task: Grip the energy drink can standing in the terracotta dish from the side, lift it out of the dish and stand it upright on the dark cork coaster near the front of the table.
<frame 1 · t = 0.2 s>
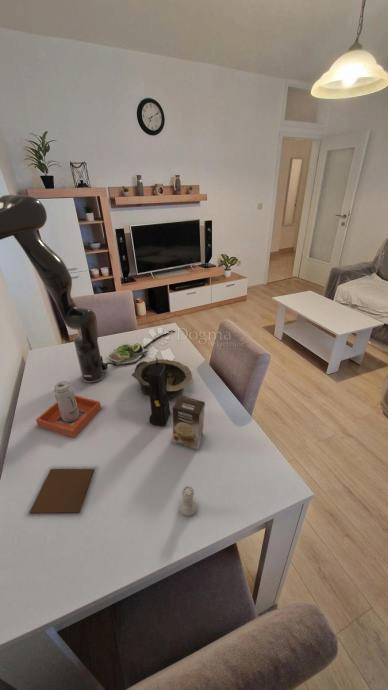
energy drink can: (71, 417, 103), resting in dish
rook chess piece: (187, 508, 75), on the table
coffee box: (188, 440, 95), on the table
coaster: (64, 489, 78), on the table
salad plate: (128, 355, 142), on the table
stone bowl: (164, 386, 120), on the table
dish: (71, 417, 103), on the table
portable radio: (160, 420, 103), on the table
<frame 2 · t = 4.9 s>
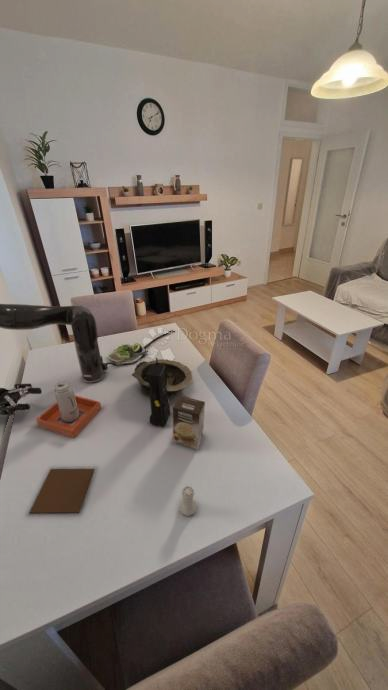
hand: (35, 398, 99), 9 cm above the table, tool horizontal, fingers open, 8 cm apart
nothing on the table moved.
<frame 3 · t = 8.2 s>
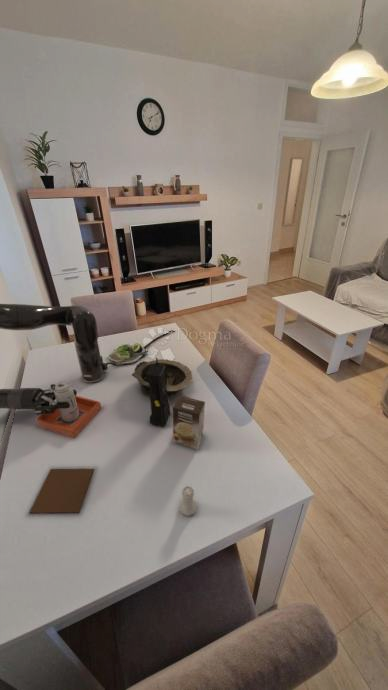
hand: (72, 398, 99), 9 cm above the table, tool horizontal, fingers closed on energy drink can, 6 cm apart
energy drink can: (71, 417, 103), resting in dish, touching gripper
everything else where it was.
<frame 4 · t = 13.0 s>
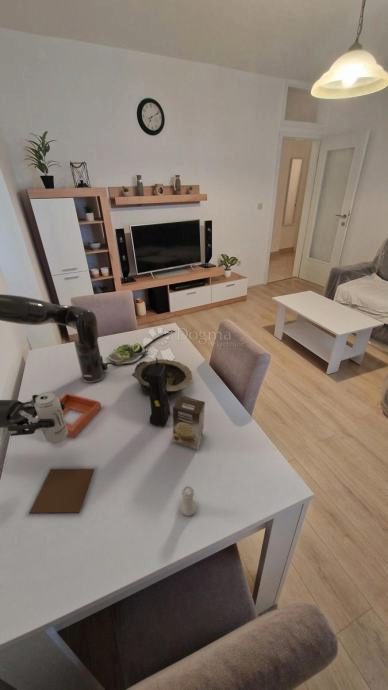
hand: (59, 414, 77), 20 cm above the table, tool horizontal, fingers closed on energy drink can, 6 cm apart
energy drink can: (57, 437, 82), point 11 cm above the table, touching gripper
everything else where it was.
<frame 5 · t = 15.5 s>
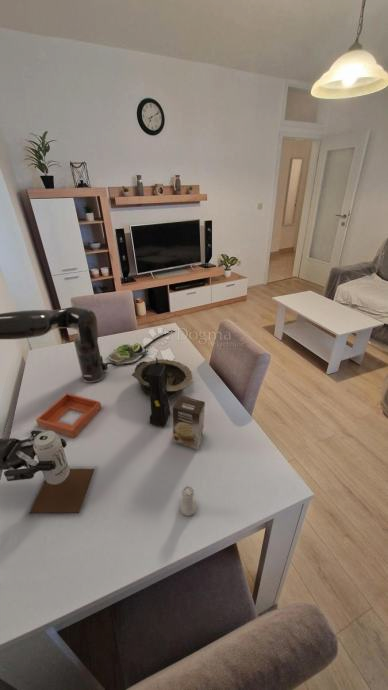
hand: (60, 454, 71), 15 cm above the table, tool horizontal, fingers closed on energy drink can, 6 cm apart
energy drink can: (58, 476, 75), point 6 cm above the table, touching gripper
everything else where it was.
when the fingers open (9 cm above the table, at t = 17.7 s): energy drink can stays where it is, resting on coaster.
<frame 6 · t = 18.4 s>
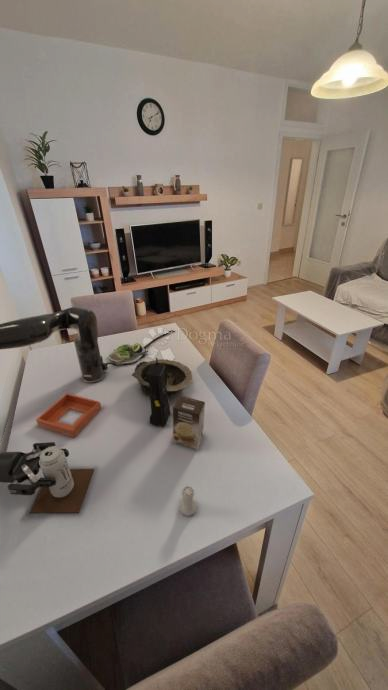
hand: (62, 466, 74), 10 cm above the table, tool horizontal, fingers open, 8 cm apart
energy drink can: (63, 489, 78), resting on coaster
everything else where it was.
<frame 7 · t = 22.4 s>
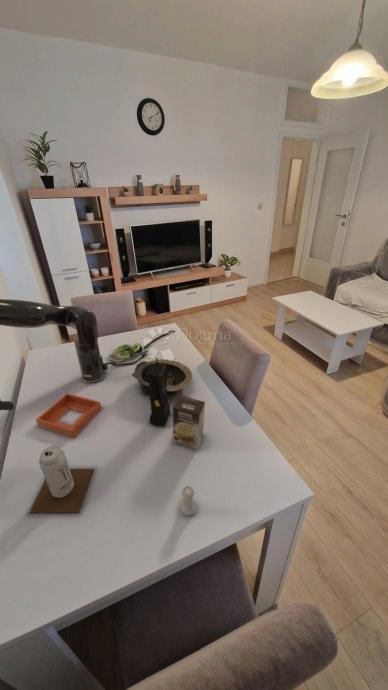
hand: (2, 418, 67), 26 cm above the table, tool horizontal, fingers open, 8 cm apart
nothing on the table moved.
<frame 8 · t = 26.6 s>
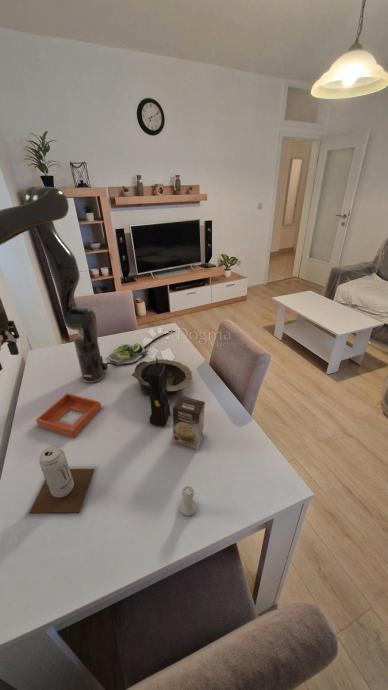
hand: (7, 361, 81), 30 cm above the table, tool pointing down, fingers open, 8 cm apart
nothing on the table moved.
at the end: energy drink can inside the target area on the coaster (0.2 cm from its centre), point 0.2 cm above the coaster's base; energy drink can tilted 0°; the gripper is holding nothing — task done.
